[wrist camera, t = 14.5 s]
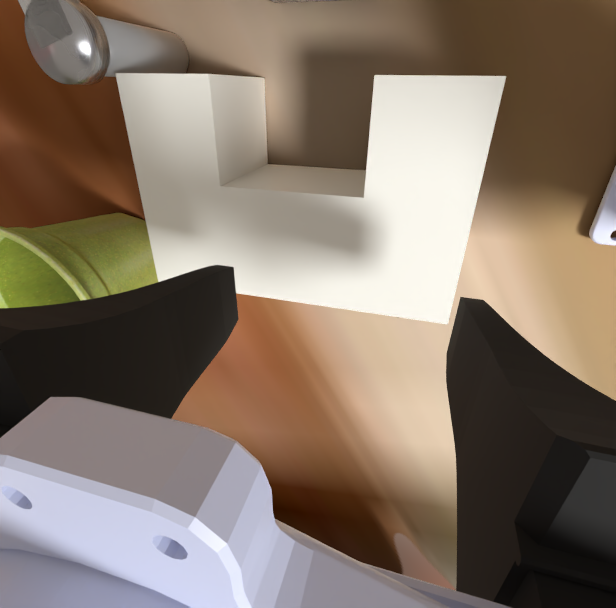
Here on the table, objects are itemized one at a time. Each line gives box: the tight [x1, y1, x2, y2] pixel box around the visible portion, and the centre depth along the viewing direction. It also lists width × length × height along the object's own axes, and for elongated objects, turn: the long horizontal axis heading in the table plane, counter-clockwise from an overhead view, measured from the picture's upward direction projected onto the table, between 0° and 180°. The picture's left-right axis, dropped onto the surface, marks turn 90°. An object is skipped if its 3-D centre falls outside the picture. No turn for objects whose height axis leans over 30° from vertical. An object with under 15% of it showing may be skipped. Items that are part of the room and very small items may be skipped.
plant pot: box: [0, 213, 158, 308], centre depth 22 cm, size 9×9×9 cm
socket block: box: [96, 16, 506, 324], centre depth 17 cm, size 16×11×6 cm
